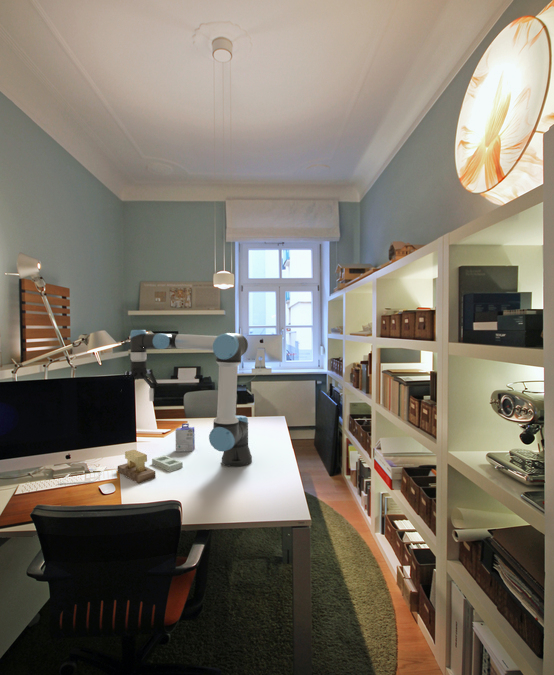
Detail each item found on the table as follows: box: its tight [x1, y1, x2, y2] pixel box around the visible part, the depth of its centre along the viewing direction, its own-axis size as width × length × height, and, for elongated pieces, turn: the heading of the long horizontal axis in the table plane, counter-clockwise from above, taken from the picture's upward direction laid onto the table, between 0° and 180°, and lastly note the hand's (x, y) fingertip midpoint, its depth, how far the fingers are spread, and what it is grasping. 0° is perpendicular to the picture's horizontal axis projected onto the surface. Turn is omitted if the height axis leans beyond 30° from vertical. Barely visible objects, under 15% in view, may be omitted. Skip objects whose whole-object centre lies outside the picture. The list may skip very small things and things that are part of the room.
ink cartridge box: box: [175, 423, 196, 453], centre depth 206 cm, size 10×6×14 cm, turn 95°
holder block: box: [151, 455, 183, 472], centre depth 181 cm, size 16×7×2 cm, turn 48°
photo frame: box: [57, 466, 108, 485], centre depth 170 cm, size 15×1×18 cm
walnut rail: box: [117, 463, 156, 484], centre depth 170 cm, size 20×8×3 cm, turn 48°
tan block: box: [124, 449, 148, 473], centre depth 170 cm, size 12×4×10 cm, turn 48°
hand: (139, 403), depth 185 cm, fingers open, 13 cm apart
